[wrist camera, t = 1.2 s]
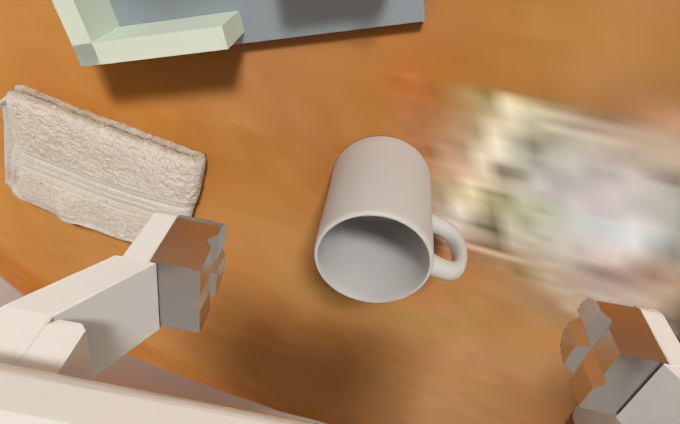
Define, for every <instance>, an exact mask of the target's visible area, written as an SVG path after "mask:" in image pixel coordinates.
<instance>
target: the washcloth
mask: <svg viewBox="0 0 680 424" xmlns="http://www.w3.org/2000/svg"><path fill="white" fill-rule="evenodd" d="M0 108H1V109H2V111H3V120H4V150H5V152H4V164H5V178H6V179H5V184H7V185H8V186H10V187H12V192H13V194H14V195H15V196H16V197H17V198H18V199H20V200H22V201H25V202H29V203H31V204H33V205H36V206H38V207H41V208H43V209H45V210H48V211H50V212H51V213H53V214H55V215H57V216H58V217H59V219H60V220H61V221H63V222H66V223H71V224H78V225H81V226H84V227H87V228H91V229H94V230H96V231H99V232H102V233H104V234H107V235H109V236H112V237H117V238H118V239H121V240H125V241H129V242H133V241H134V239H135V238H136V236H137V235H138V234H139V232H140V231H141V229H142V228H143V227H144V225H145V224H146V222H147V221H148V219H149V218H150V217H151V215H152V214H153V213H154V212H156V211H158V210H161V211H165V212H170V213H174V214H179V215H185V216H189V217H192V214H193V212H194V208H195V203H196V202H197V200H198V199H199V195H200V192H201V187H202V181H203V178H204V173H205V166H206V157H205V154H202V153H201V152H199V151H197V152H196V151H195V150H191V149H189V148H187V147H184V146H183V145H181V144H180V145H178V144H175V143H173V142H172V141H169V140H165V139H162V138H160V137H155V136H152V135H151V134H150V133H149V134H148V133H146V132H145V131H144V132H143V131H141V130H139V129H138V128H135V127H130V126H128V125H126V124H125V123H121V122H117V121H115V120H110V119H109V118H105V117H100V116H98V115H97V114H94V113H92V112H90V111H88V110H82V109H80V108H77V107H74V106H72V105H70V104H69V103H65V102H63V101H61V100H59V99H56V98H53V97H50V96H48V95H46V94H43V93H40V92H39V91H37V90H33V89H31V88H29V87H27V86H24V85H20V84H18V85H16V86H15V87H14V90H10V91H8V93H7V95H6V97H4V98H3V99H2V100H0Z"/></svg>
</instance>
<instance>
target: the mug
mask: <svg viewBox="0 0 680 424" xmlns="http://www.w3.org/2000/svg"><path fill="white" fill-rule="evenodd" d="M433 234H436V235H438V236H440V237H441V238H443V239H444V240H445V241H446V242H447V244H448V245H449V247H450V250H451V253H452V261H448V260H445V259H443V258H441V257H439V256H437V255H436V254H434V241H433ZM314 259H315V263H316V267H317V269H318V271H319V273H320V275H321V276H322V278H323V279H324V280H325V281H326V283H327V284H329V285H330V286H331V287H332V288H333V289H335V290H336V291H337V292H339V293H341V294H342V295H345V296H347V297H349V298H352V299H355V300H359V301H363V302H369V303H385V302H392V301H396V300H400V299H402V298H405V297H407V296H409V295H411V294H413V293H414V292H416V291H417V290H418V289H419V288H421V287H422V286H423V284H424V283H425V282H426V281H427V279H428V278H429V276H432V277H435V278H438V279H442V280H447V281H451V280H456V279H458V278H459V277H460V276H461V275H462V274H463V272H464V270H465V268H466V264H467V250H466V245H465V242H464V239H463V237H462V234H461V233H460V231H459V230H458V229H457V227H456V226H455V225H453V224H452V223H451V222H449V221H447V220H445V219H444V218H442V217H440V216H438V215H435V214H433V213H432V201H431V176H430V171H429V167H428V165H427V163H426V161H425V159H424V158H423V156H422V155H421V154H420V152H419V151H418V150H416V149H415V148H414V147H413V146H411V145H410V144H408V143H406V142H405V141H402V140H400V139H397V138H393V137H388V136H373V137H368V138H364V139H361V140H359V141H357V142H355V143H353V144H351V145H350V146H349V147H347V148H346V149H345V150H344V151H343V152H342V153H341V155H340V156H339V157H338V159H337V161H336V163H335V166H334V168H333V172H332V176H331V181H330V186H329V190H328V194H327V198H326V202H325V206H324V210H323V214H322V218H321V222H320V226H319V230H318V233H317V238H316V242H315V246H314Z"/></svg>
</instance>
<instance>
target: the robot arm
mask: <svg viewBox="0 0 680 424" xmlns="http://www.w3.org/2000/svg"><path fill="white" fill-rule="evenodd" d="M225 240H226V226H225V224H221V223H216V222H212V221H207V220H203V219H198V218H194V217H189V216H185V215H179V214H174V213H170V212H165V211H161V210H158V211H156V212H154V213H153V214H152V215H151V217H150V218H149V219H148V221H147V222H146V224H145V225H144V227H143V228H142V229H141V231H140V232H139V234H138V235H137V236H136V238H135V239H134V241H133V242H132V244H131V245H130V246H129V248H128V249H127V251H126V252H125V254H124V255H123V256H117V255H115V256H113V257H111V258H108V259H106V260H104V261H102V262H100V263H97V264H95V265H93V266H91V267H88V268H86V269H84V270H82V271H79V272H77V273H75V274H73V275H70V276H68V277H66V278H64V279H62V280H59V281H57V282H55V283H53V284H50V285H48V286H46V287H44V288H41V289H39V290H37V291H35V292H32V293H30V294H28V295H26V296H24V297H21V298H19V299H17V300H15V301H13V302H10V303H8V304H6V305H4V306H2V307H1V308H0V424H316V423H310V422H306V421H300V420H295V419H290V418H285V417H280V416H274V415H269V414H264V413H258V412H253V411H248V410H243V409H238V408H233V407H227V406H222V405H217V404H212V403H207V402H201V401H196V400H191V399H186V398H180V397H175V396H170V395H164V394H160V393H154V392H149V391H144V390H139V389H133V388H128V387H123V386H118V385H113V384H108V383H102V382H97V381H95V378H94V376H96V375H97V374H99V373H100V372H101V371H103V370H104V369H105V368H107V367H108V366H109V365H111V364H112V363H114V362H115V361H116V360H118V359H119V358H120V357H122V356H123V355H124V354H126V353H127V352H128V351H130V350H131V349H133V348H134V347H135V346H137V345H138V344H139V343H141V342H142V341H143V340H145V339H146V338H147V337H149V336H150V335H152V334H153V333H154V332H156V331H157V330H158V329H160V326H161V327H167V328H173V329H179V330H185V331H191V332H197V333H200V331H201V328H202V326H203V324H204V321H205V319H206V317H207V314H208V312H209V309H210V298H211V297H213V296H215V295H216V293H217V290H218V288H219V286H220V282H221V279H222V275H223V270H224V264H225V253H224V252H223V251H222V247H223V245H224V242H225ZM578 312H579V316H580V317H579V318H577V319H575V320H573V321H571V322H569V323H568V325H567V326H566V328H565V330H564V331H563V333H562V338H561V343H560V347H561V355H562V359H563V362H564V364H565V365H566V366H567V367H568V368H569V369H570V370H571V371H572V372H573V375H572V377H571V379H570V380H569V381H570V384H571V387H572V390H573V393H574V396H575V399H576V402H577V405H578V407H581V408H586V409H590V410H595V411H599V412H604V413H608V414H613V415H617V416H616V418H617V419H618V420H619V422H620V423H621V424H680V343H679V342H678V340H677V338H676V336H675V335H674V333H673V331H672V330H671V328H670V326H669V324H668V323H667V321H666V319H665V317H664V316H663V314H661V313H660V312H659V311H658V310H656V309H650V308H644V307H639V306H630V305H625V304H620V303H615V302H610V301H605V300H599V299H594V298H587V299H586V300H584V301H583V302H582V304H581V305H580V307H579V308H578Z"/></svg>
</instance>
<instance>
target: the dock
mask: <svg viewBox="0 0 680 424" xmlns="http://www.w3.org/2000/svg"><path fill="white" fill-rule="evenodd" d="M52 2H53V4H54V6H55V8H56V11H57V13H58V15H59V17H60V19H61V22H62V24H63V26H64V28H65V31H66V33H67V35H68V37H69V39H70V42H71V44H72V46H73V48H74V51H75V53H76V55H77V57H78V59H79V62H80V64H81V66H82V67H85V66H93V65H102V64H110V63H118V62H126V61H135V60H143V59H151V58H159V57H168V56H176V55H184V54H192V53H201V52H209V51H217V50H225V49H229V48H230V47H231V46H232V45H235V44H243V43H251V42H259V41H267V40H275V39H284V38H292V37H300V36H308V35H316V34H324V33H332V32H341V31H349V30H357V29H365V28H373V27H381V26H390V25H398V24H406V23H414V22H422V21H425V6H424V0H52Z"/></svg>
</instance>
